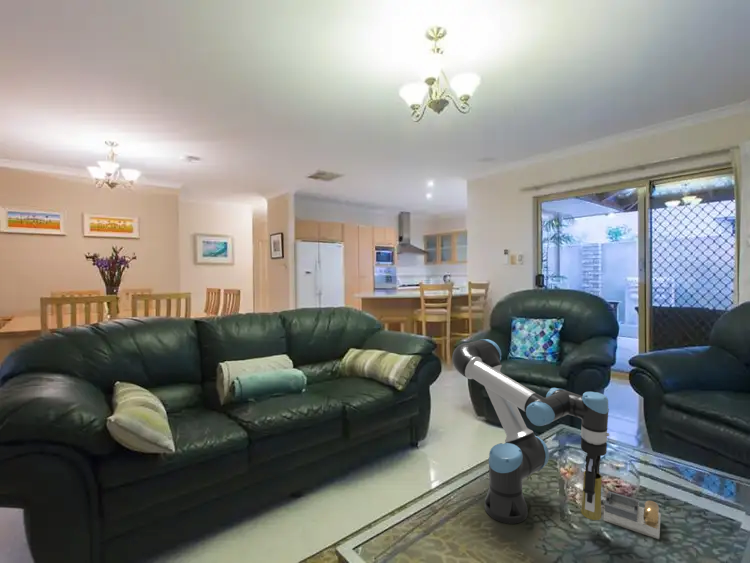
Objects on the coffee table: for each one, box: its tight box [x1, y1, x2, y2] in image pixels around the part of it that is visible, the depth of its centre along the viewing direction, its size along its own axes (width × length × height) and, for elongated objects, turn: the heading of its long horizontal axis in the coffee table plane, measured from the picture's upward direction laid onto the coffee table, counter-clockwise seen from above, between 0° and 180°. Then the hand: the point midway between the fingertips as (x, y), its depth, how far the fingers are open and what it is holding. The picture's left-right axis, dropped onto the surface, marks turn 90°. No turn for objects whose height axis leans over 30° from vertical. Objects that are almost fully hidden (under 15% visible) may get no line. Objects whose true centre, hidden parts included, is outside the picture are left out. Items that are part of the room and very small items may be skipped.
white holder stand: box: [603, 490, 662, 540], centre depth 138 cm, size 16×10×8 cm, turn 52°
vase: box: [580, 470, 602, 521], centre depth 133 cm, size 6×6×14 cm
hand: (591, 504), depth 133 cm, fingers closed on vase, 6 cm apart
